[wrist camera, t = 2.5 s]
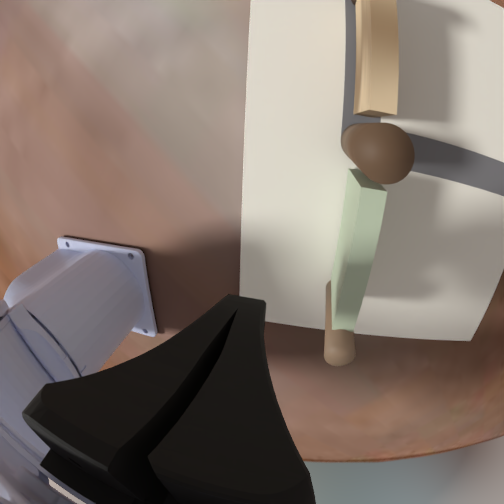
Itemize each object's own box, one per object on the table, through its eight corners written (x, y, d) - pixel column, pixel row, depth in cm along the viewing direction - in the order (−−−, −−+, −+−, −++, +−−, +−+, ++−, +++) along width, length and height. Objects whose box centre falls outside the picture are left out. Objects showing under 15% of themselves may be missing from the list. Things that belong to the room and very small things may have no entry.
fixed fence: (375, 164, 13) (409, 189, 8) (338, 158, 14) (352, 179, 8) (381, -6, 9) (406, -59, 4) (344, -12, 9) (353, -71, 4)
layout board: (240, 313, 20) (238, 317, 19) (255, -46, 9) (253, -50, 9) (468, 337, 17) (470, 341, 16) (523, 23, 6) (526, 22, 6)
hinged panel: (344, 167, 14) (359, 192, 9) (370, 171, 13) (399, 199, 8) (323, 296, 17) (321, 364, 12) (346, 299, 17) (350, 367, 12)
